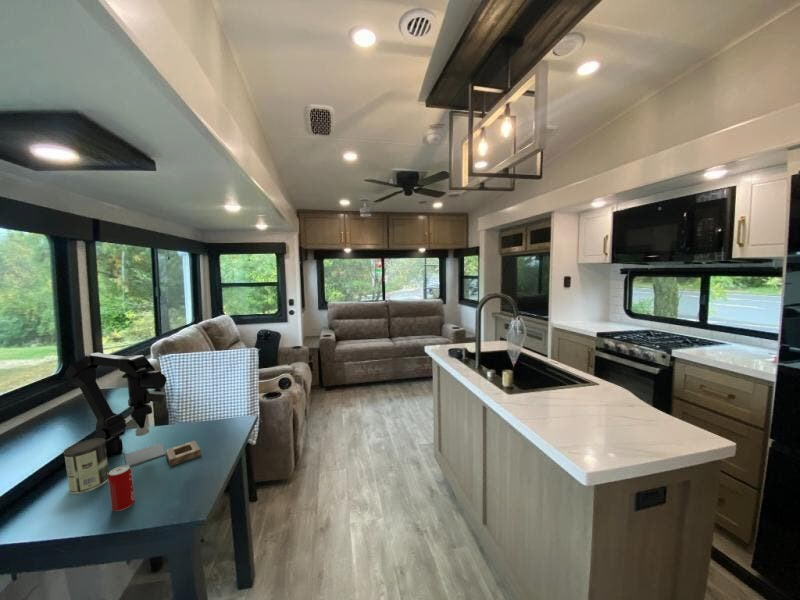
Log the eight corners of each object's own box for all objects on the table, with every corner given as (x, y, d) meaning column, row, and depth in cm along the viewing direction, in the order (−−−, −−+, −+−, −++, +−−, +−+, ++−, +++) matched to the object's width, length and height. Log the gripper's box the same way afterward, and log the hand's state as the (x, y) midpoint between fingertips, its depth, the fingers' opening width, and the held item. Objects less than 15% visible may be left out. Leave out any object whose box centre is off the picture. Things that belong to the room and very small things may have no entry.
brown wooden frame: (170, 466, 122) (169, 460, 122) (166, 456, 129) (165, 449, 129) (201, 455, 129) (200, 449, 128) (195, 446, 136) (194, 440, 136)
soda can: (136, 505, 101) (132, 468, 100) (113, 515, 98) (108, 476, 96) (133, 497, 105) (129, 461, 104) (111, 506, 101) (106, 469, 100)
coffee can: (98, 473, 119) (93, 436, 118) (116, 477, 116) (112, 439, 115) (61, 491, 110) (55, 451, 108) (80, 497, 106) (75, 455, 105)
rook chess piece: (140, 431, 132) (138, 412, 131) (152, 430, 132) (150, 411, 131) (132, 436, 127) (130, 417, 126) (144, 436, 127) (142, 416, 127)
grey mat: (126, 468, 122) (126, 466, 122) (124, 455, 131) (124, 454, 131) (165, 455, 130) (165, 453, 130) (161, 444, 139) (161, 442, 139)
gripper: (166, 388, 126) (170, 427, 128) (159, 378, 140) (163, 413, 142) (129, 396, 119) (133, 437, 120) (126, 384, 133) (130, 421, 134)
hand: (141, 426), depth 129 cm, fingers closed on rook chess piece, 3 cm apart
